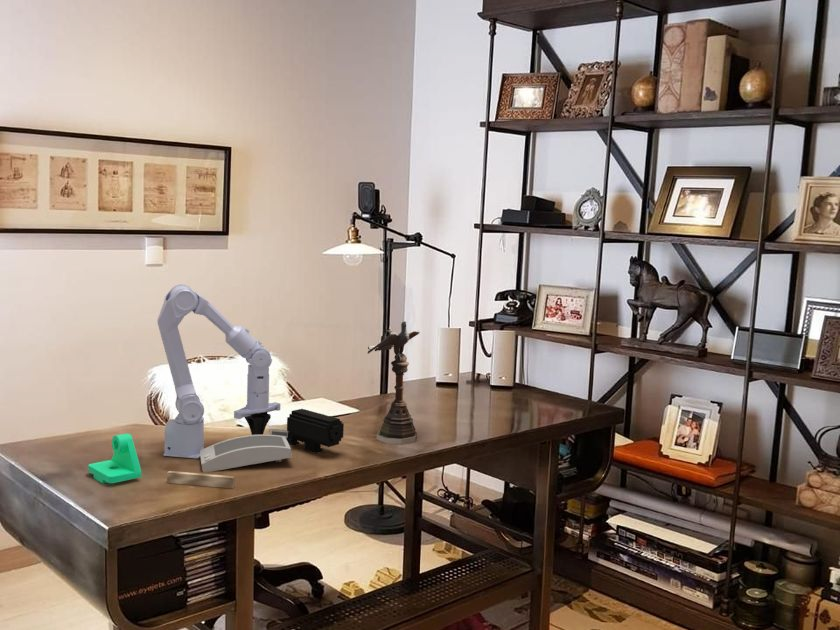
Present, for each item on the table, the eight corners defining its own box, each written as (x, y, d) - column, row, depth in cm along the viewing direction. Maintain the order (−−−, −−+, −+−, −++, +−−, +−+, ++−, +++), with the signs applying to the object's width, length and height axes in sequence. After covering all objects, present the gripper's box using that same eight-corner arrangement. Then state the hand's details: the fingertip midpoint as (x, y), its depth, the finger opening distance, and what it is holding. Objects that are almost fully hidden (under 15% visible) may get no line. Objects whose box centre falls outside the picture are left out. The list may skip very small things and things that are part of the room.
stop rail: (167, 482, 198) (167, 472, 198) (169, 481, 199) (169, 470, 199) (232, 488, 196) (232, 478, 196) (234, 486, 197) (234, 476, 197)
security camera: (297, 440, 237) (298, 405, 236) (344, 454, 225) (345, 418, 224) (279, 445, 232) (279, 409, 230) (326, 460, 220) (327, 423, 219)
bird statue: (354, 433, 246) (357, 315, 241) (388, 427, 255) (393, 312, 250) (389, 447, 234) (394, 322, 229) (425, 440, 242) (430, 320, 238)
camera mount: (86, 475, 201) (86, 433, 200) (117, 468, 207) (117, 428, 206) (110, 488, 193) (109, 444, 192) (141, 481, 199) (141, 439, 197)
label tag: (268, 440, 236) (269, 428, 235) (269, 440, 236) (269, 427, 236) (289, 442, 235) (289, 429, 234) (290, 441, 235) (290, 429, 235)
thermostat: (199, 459, 218) (199, 437, 217) (286, 455, 224) (286, 433, 223) (201, 473, 207) (201, 449, 206) (292, 468, 213) (292, 445, 212)
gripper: (268, 384, 233) (267, 432, 235) (226, 392, 222) (226, 442, 224) (286, 388, 229) (285, 437, 231) (244, 397, 218) (243, 448, 219)
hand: (257, 440), depth 227 cm, fingers closed
